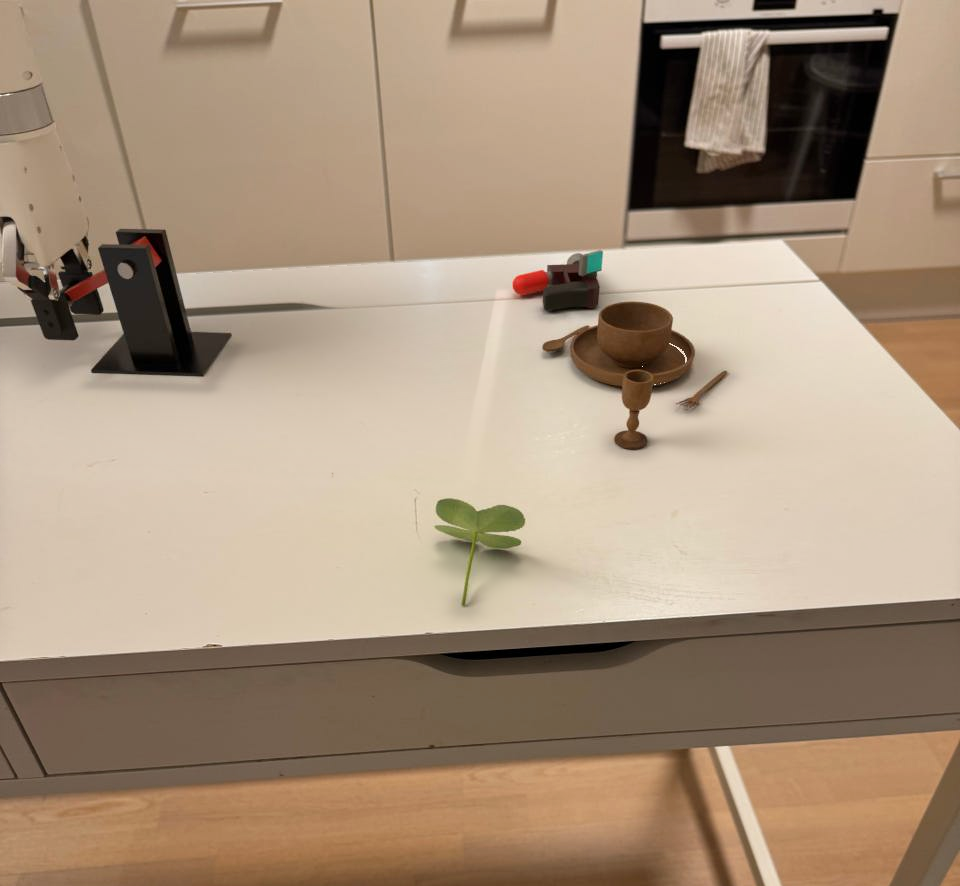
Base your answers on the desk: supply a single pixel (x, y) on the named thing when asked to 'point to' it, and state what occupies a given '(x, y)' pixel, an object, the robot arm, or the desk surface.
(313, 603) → the desk surface
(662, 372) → the place setting
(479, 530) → the green clover sprout
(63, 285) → the robot arm
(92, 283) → the lever
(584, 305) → the toy gun
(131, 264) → the bracket
